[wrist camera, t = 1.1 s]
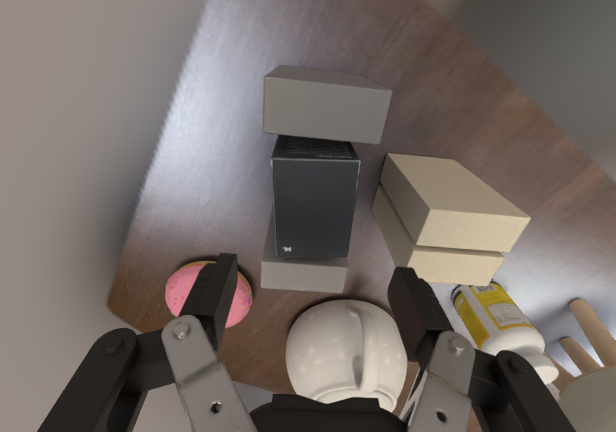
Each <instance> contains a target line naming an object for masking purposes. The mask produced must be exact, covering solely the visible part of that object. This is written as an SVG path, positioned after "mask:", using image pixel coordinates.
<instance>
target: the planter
mask: <svg viewBox="0 0 616 432" xmlns="http://www.w3.org/2000/svg"><path fill="white" fill-rule="evenodd" d="M570 309H571V311H572V312H573V314H574V316H575V317H576V319H577V321H578V323H579V324H580V326H581V328H582V330H583V331H584V333H585V335H586V337H587V338H588V340H589V342H590V343H591V345H592V347H593V348H594V350H595V352H596V353H597V355H598V357H599V358H600V360H601V362H602V363H603V365H604V366H605V367H601V366H600V365H599V364H598V363H597V362H596V361H595V360H594V359H593V358H592V357H591V356H590V355H589V354H588V353H587V352H586V351H585V350H584V349H583V348H582V346H581V345H580V344H579V343H578V342H577V341H576V340H575V339H573V338H570V337H565V338H563V339H561V341H560V345H561V346H562V347H563V349H564V350H565V352H566V353H567V354H568V355H569V357H570V358H571V359H572V361H573V362H574V363H575V365H576V366H577V367H578V369H579V370H580V371H581V372H582V374H581V375H579V376H577V377H575V378H574V377H573V376H572V375H571V374H570V373H569V372H568V371H566V370H565V369H564V368H563V367H562V366H560V365H559V364H558V363H557V362H556V361H554V360H553V359H552V358H551V357H550V356H548V355H547V354H546V353H545V352H543V353H542V354H543V355H545V356H547V357H548V358H549V359H550V360H551V361H552V363H553V364H554V365H555V367H556V368H557V369H558V372H559V374H558V376H557V378H556V379H555V380H554V381H552V383H553V384H554V385H555V386H556V387H557V388H558V389H559V390H560V392H559V396H560V398H559V401H558V405H559V406H560V408H561V409H562V411H563V412H564V414H565V415H566V417H567V418H568V420H569V421H570V423H571V424H572V426H573V427H574V429H575V430H576V432H616V341H615V340H614V338H613V337H612V336H611V334H610V333H609V332H608V330H607V329H606V327H605V326H604V324H603V323H602V322H601V320H600V319H599V317H598V316H597V315H596V313H595V312H594V310H593V309H592V308H591V307H590V305H589V304H588V303H587V302H586V301H584V300H581V299H577V300H574V301H572V302H571V303H570Z"/></svg>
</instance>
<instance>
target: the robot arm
mask: <svg viewBox="0 0 616 432" xmlns="http://www.w3.org/2000/svg"><path fill="white" fill-rule="evenodd" d="M237 281H238V272H237V255H236V254H230V253H220V254H219V257H218V259H217V262H216V263H207V264H206V265H205V266H204V267H203V268H202V269H200V271H199V273H198V275H197V277H196V280H195V282H194V284H193V286H192V288H191V290H190V292H189V294H188V296H187V298H186V300H185V303H184V305H183V307H182V309H181V311H180V313H179V315H178V317H177V318H175V319H173V320H171V321H170V322H169V323H168V324H167V325H166V326H165V327H164V328H162V329H160V330H157V331H153V332H148V333H144V334H140V335H136V333H135V332H134V331H133V330H131V329H128V328H119V329H115V330H112V331H110V332H108V333H106V334H104V335H103V336H102V337H100V338H99V339H98V340H97V341H96V342H95V343H94V345H93V346H92V347H91V349H90V350H89V352H88V354H87V355H86V357H85V358H84V360H83V361H82V363H81V364H80V366H79V367H78V369H77V371H76V372H75V374H74V375H73V377H72V378H71V380H70V381H69V383H68V385H67V386H66V388H65V390H64V391H63V392H62V394H61V395H60V397H59V398H58V400H57V402H56V403H55V405H54V406H53V408H52V409H51V411H50V412H49V414H48V416H47V417H46V419H45V420H44V422H43V423H42V425H41V426H40V428H39V429H38V431H37V432H132V431H133V428H134V426H135V423H136V421H137V418H138V415H139V413H140V411H141V408H142V406H143V403H144V401H145V398H146V396H147V393H148V391H149V390H151V389H155V388H158V387H161V386H165V385H169V384H172V383H175V384H176V387H177V390H178V393H179V396H180V399H181V402H182V405H183V408H184V411H185V414H186V417H187V420H188V423H189V426H190V429H191V432H467V426H468V421H469V415H470V410H471V405H472V407H473V409H474V412H475V414H476V417H477V419H478V421H479V424H480V426H481V429H482V431H483V432H576V430H575V429H574V427H573V426H572V424H571V423H570V421H569V420H568V418H567V417H566V415H565V414H564V412H563V411H562V409H561V408H560V406H559V405H558V403H557V402H556V400H555V399H554V397H553V396H552V394H551V393H550V391H549V390H548V388H547V387H546V385H545V384H544V382H543V381H542V379H541V378H540V376H539V375H538V373H537V372H536V370H535V369H534V367H533V366H532V365H531V364H530V363H529V362H528V361H527V360H526V359H525V358H524V357H522V356H521V355H519V354H517V353H515V352H513V351H510V350H501V351H499V352H498V353H497V355H496V356H494V355H492V354H489V353H486V352H483V351H480V350H477V349H475V348H473V346H472V345H471V343H470V342H469V341H468V340H467V339H466V338H465V337H463V336H462V335H460V334H458V333H456V332H455V331H454V329H453V327H452V326H451V324H450V322H449V320H448V318H447V316H446V314H445V312H444V310H443V309H442V307H441V305H440V304H439V301H438V299H437V297H435V294H434V292H433V290H432V288H431V286H430V285H429V284H428V283H427V282H426V281H425V280H424V279H423V278H418V276H417V274H416V272H415V270H414V269H413V268H412V267H400V266H397V267H396V268H395V270H394V273H393V276H392V279H391V281H390V284H389V287H388V300H389V303H390V306H391V309H392V312H393V315H394V318H395V321H396V324H397V327H398V330H399V333H400V336H401V339H402V342H403V345H404V348H405V351H406V354H407V357H408V360H409V362H418V363H419V366H420V369H419V370H418V373H417V375H416V378H415V381H414V383H413V386H412V388H411V391H410V394H409V396H408V399H407V401H406V404H405V406H404V409H403V411H402V413H401V415H400V417H399V418H398V417H397V416H396V415H394V414H393V413H391V412H390V411H388V410H386V409H384V408H381V407H380V404H379V399H378V398H365V397H351V398H347V399H344V400H340V401H336V402H332V403H328V404H326V403H322V402H319V401H316V400H313V399H310V398H307V397H304V396H301V395H293V394H273V399H272V402H270V403H266V404H264V405H261V406H259V407H258V408H256V409H254V410H253V411H251V412H250V413H248V411H247V409H246V407H245V405H244V403H243V401H242V399H241V397H240V395H239V393H238V391H237V389H236V387H235V385H234V383H233V381H232V379H231V377H230V375H229V373H228V371H227V369H226V367H225V365H224V363H223V362H222V361H219V359H218V358H217V356H216V353H215V351H219V347H220V344H221V340H222V337H223V333H224V330H225V326H226V323H227V319H228V316H229V312H230V309H231V305H232V302H233V298H234V295H235V291H236V287H237ZM511 407H512V408H511ZM512 409H513V410H512ZM515 414H516V415H515ZM516 416H517V417H516ZM517 418H518V419H517ZM518 420H519V421H518ZM519 422H520V423H519ZM520 424H521V425H520ZM521 426H522V427H521ZM522 428H523V429H522Z"/></svg>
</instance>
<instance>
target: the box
mask: <svg viewBox="0 0 616 432" xmlns="http://www.w3.org/2000/svg"><path fill="white" fill-rule="evenodd" d="M270 164H271V170H272V181H273V197H274V216H275V242H276V256H277V257H319V258H333V257H347V256H348V251H349V242H350V235H351V228H352V220H353V213H354V206H355V198H356V190H357V183H358V176H359V169H360V159H359V158H358V156H357V154H356V152H355V150H354V148H353V146H352V144H351V142H348V141H338V140H328V139H318V138H309V137H299V136H289V135H280V134H279V135H278V138H277V141H276V144H275V148H274V151H273V154H272V157H271V160H270Z"/></svg>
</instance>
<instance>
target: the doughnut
mask: <svg viewBox="0 0 616 432" xmlns="http://www.w3.org/2000/svg"><path fill="white" fill-rule="evenodd" d="M207 263H216V262H215V261H197V262H193V263H190V264H187V265H185V266H183V267H181V268H180V269H179V270H177V271H176V272H175V273H174V274H173V275H172V276H171V277H170V278H169V280H168V282H167V285H166V284H165V285H166V287H165V288H166V292H165V299H166V302H167V305H168V307H169V309H170V310H169V311H171V312H172V315H175V316H176V317H178V315H179V313H180V311H181V309H182V307H183V305H184V303H185V300H186V298H187V296H188V294H189V292H190V290H191V288H192V286H193V284H194V282H195V280H196V277H197V275H198V273H199V271H200V269H202V268H203V267H204V266H205V265H206V264H207ZM237 272H238V281H237V287H236V291H235V295H234V298H233V302H232V305H231V309H230V312H229V316H228V319H227V323H226V326H225V328H228V329H229V327H231V326H233V325H235V324H237V323H238V322H240V321H242V320H243V318H244V317H245V316H246V315H247V313H249V310H250V308H251V307H252V306H251V305H252V291H251V287H250V285H249V283H248V281H247V280H246V278H245V277H244V276H243V275H242V274H241V273H240V272H239V271H237ZM165 299H164V300H165Z"/></svg>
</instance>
